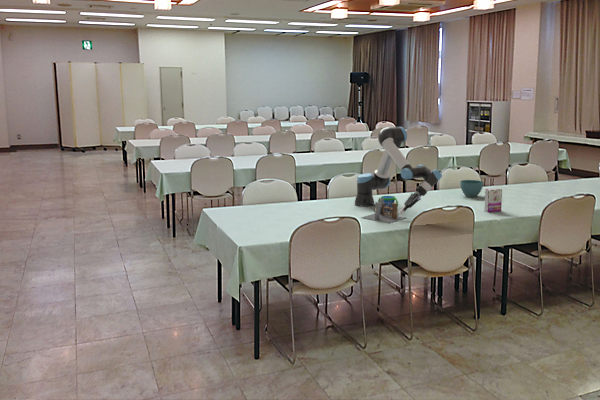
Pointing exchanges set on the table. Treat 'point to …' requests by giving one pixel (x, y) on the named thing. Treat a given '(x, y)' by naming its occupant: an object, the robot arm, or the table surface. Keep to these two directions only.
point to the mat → (383, 218)
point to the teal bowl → (471, 187)
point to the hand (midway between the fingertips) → (399, 213)
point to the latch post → (377, 210)
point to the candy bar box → (493, 200)
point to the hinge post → (381, 205)
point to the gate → (394, 210)
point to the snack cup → (389, 201)
